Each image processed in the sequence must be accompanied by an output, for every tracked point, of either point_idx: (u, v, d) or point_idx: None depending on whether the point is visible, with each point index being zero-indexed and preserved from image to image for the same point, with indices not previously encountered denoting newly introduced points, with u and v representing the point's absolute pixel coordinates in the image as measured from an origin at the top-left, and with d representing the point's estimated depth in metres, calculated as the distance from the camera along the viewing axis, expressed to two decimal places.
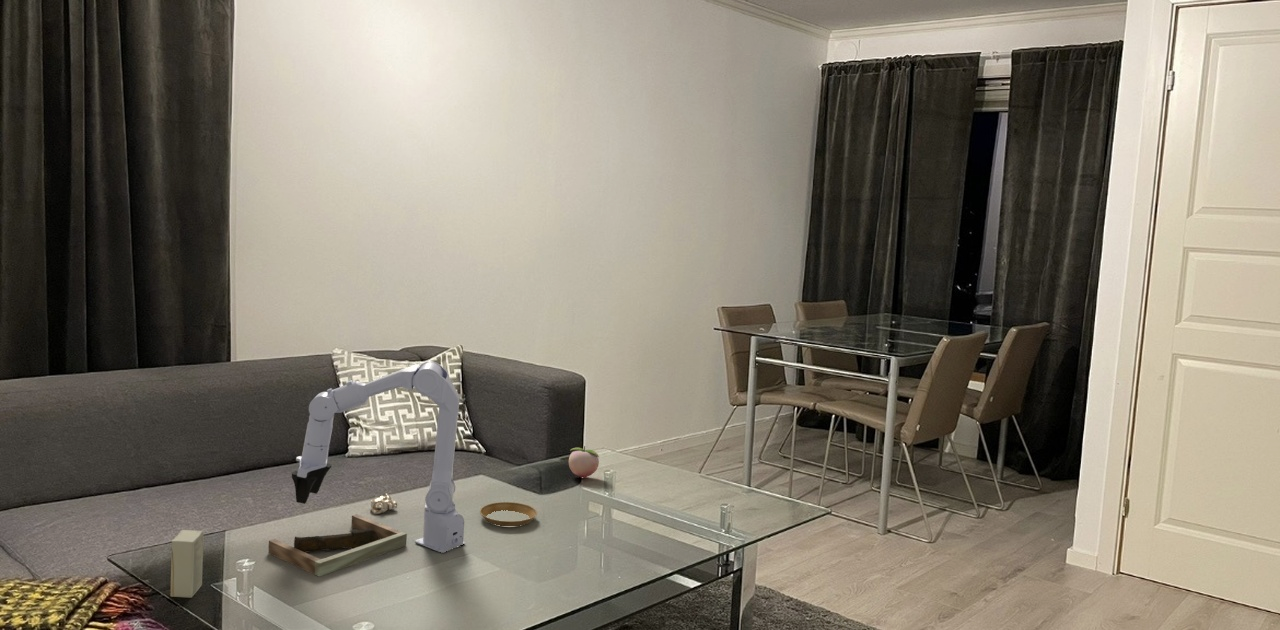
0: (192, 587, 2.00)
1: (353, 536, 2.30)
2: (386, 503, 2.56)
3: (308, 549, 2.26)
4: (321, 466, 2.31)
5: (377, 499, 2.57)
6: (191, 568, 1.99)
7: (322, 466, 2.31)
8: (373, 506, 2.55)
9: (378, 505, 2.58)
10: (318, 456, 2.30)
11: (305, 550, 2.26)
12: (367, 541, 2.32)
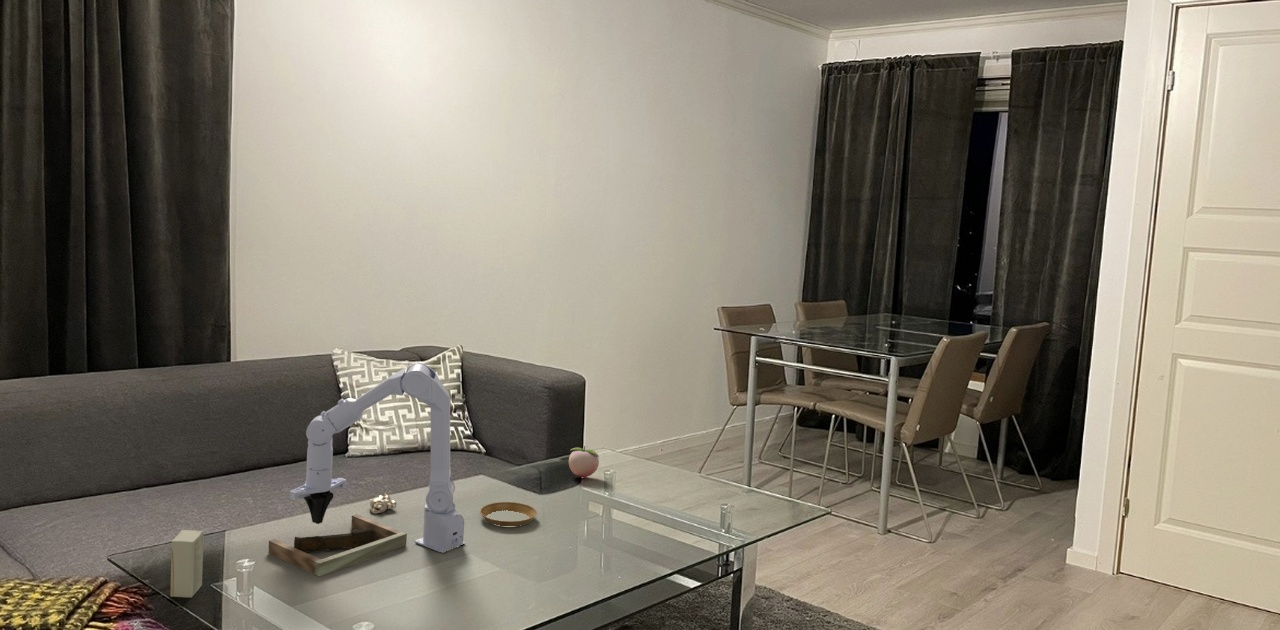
0: (192, 587, 2.00)
1: (353, 536, 2.31)
2: (385, 503, 2.56)
3: (308, 549, 2.26)
4: (319, 490, 2.30)
5: (376, 499, 2.57)
6: (191, 568, 1.99)
7: (320, 490, 2.30)
8: (372, 506, 2.56)
9: (377, 505, 2.59)
10: (315, 480, 2.30)
11: (305, 550, 2.26)
12: (367, 541, 2.32)
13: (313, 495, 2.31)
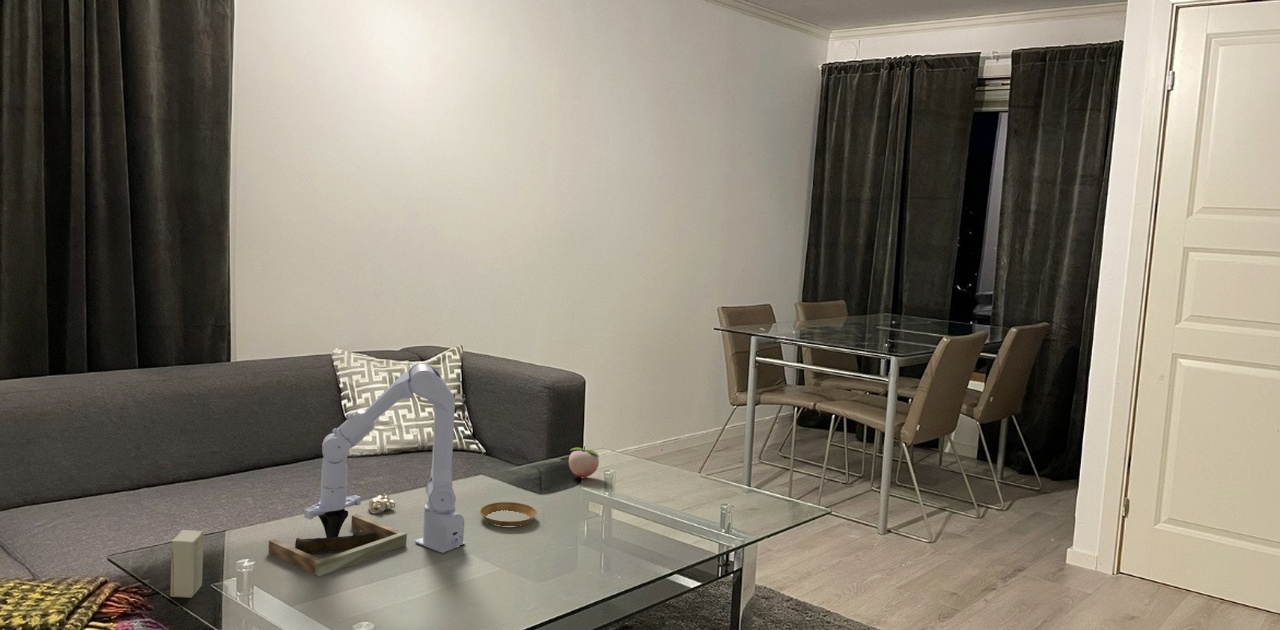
0: (192, 587, 2.00)
1: (354, 539, 2.29)
2: (384, 503, 2.56)
3: (309, 551, 2.25)
4: (334, 509, 2.27)
5: (375, 499, 2.57)
6: (191, 568, 1.99)
7: (335, 509, 2.28)
8: (371, 506, 2.56)
9: (376, 505, 2.59)
10: (329, 498, 2.27)
11: (306, 552, 2.25)
12: None
13: (328, 513, 2.28)
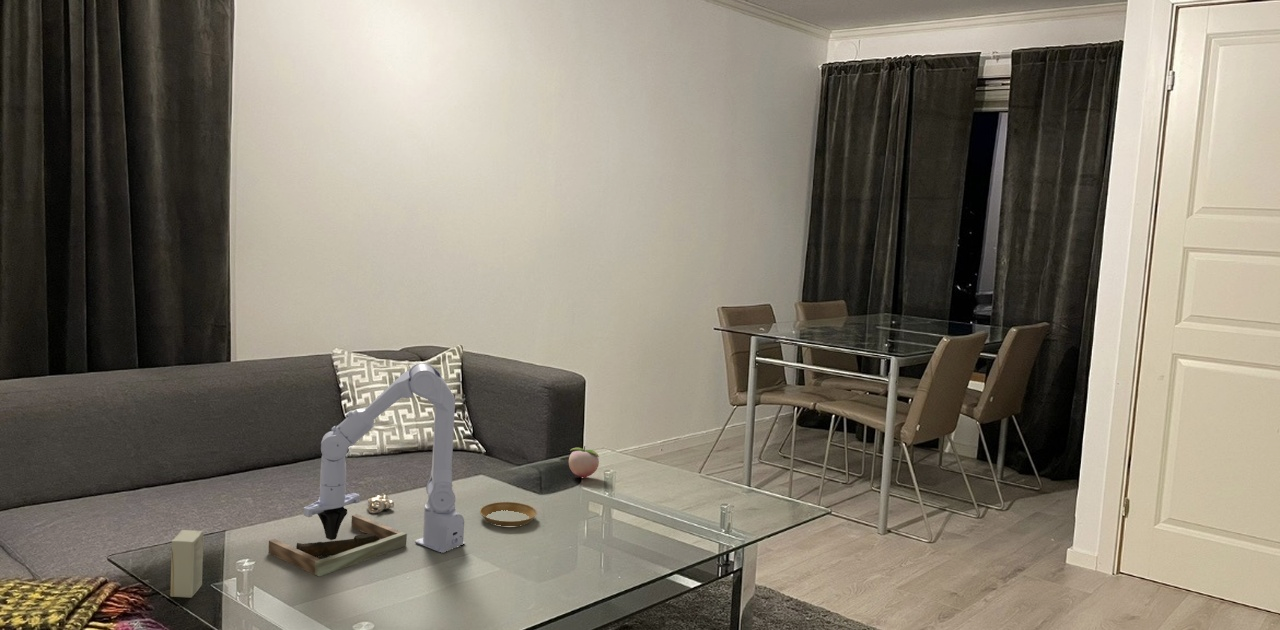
0: (192, 587, 2.00)
1: (356, 542, 2.27)
2: (383, 502, 2.56)
3: None
4: (333, 506, 2.28)
5: (374, 498, 2.58)
6: (191, 568, 1.99)
7: (334, 507, 2.28)
8: (370, 505, 2.56)
9: (375, 504, 2.59)
10: (328, 496, 2.27)
11: None
12: None
13: (327, 511, 2.29)
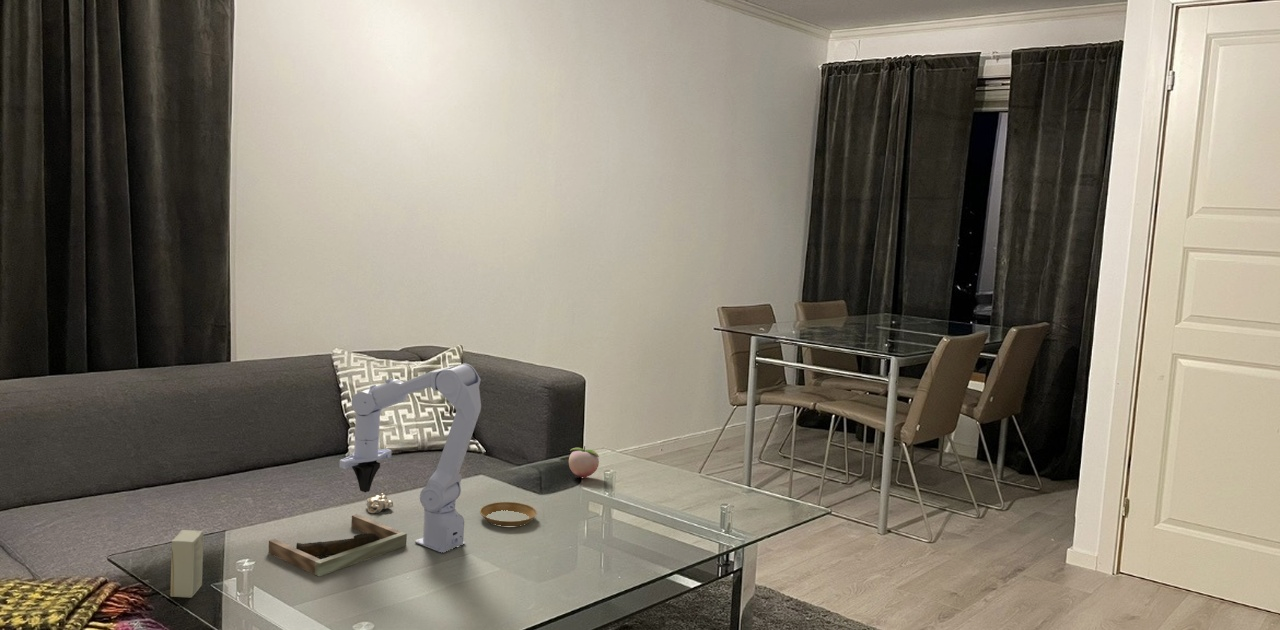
0: (192, 587, 2.00)
1: (356, 541, 2.27)
2: (382, 502, 2.56)
3: None
4: (367, 460, 2.39)
5: (373, 498, 2.58)
6: (191, 568, 1.99)
7: (368, 460, 2.40)
8: (369, 505, 2.56)
9: (374, 504, 2.59)
10: (363, 450, 2.39)
11: None
12: None
13: (361, 464, 2.40)
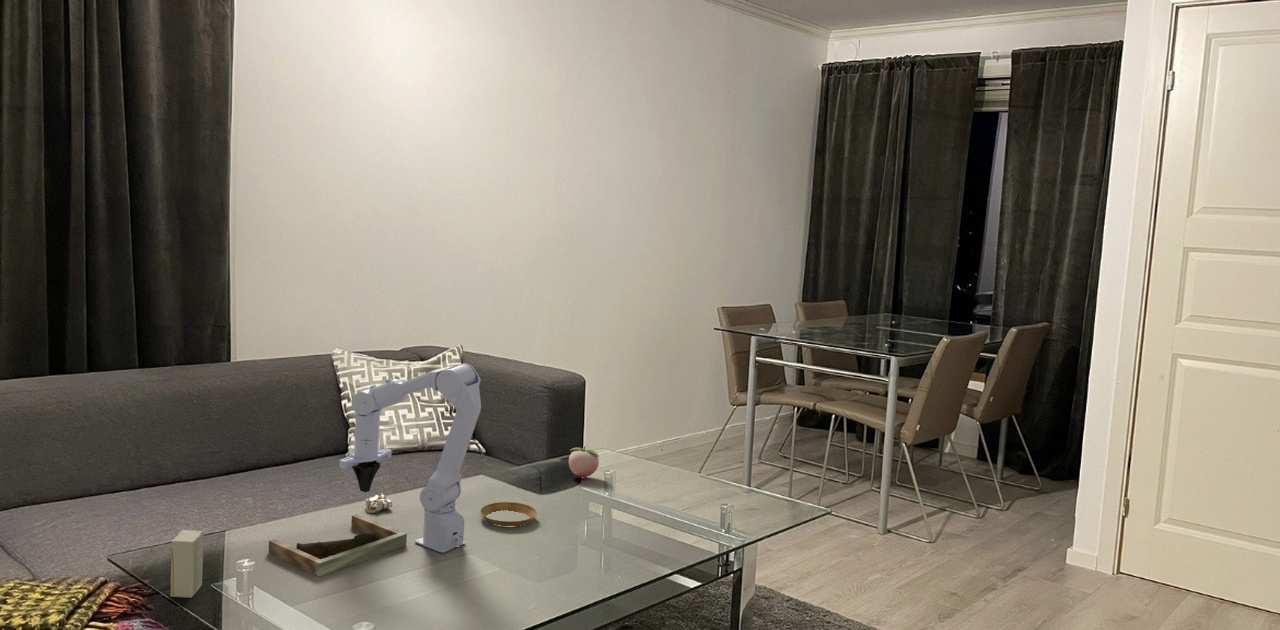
0: (192, 587, 2.00)
1: (356, 541, 2.27)
2: (381, 502, 2.56)
3: None
4: (367, 460, 2.39)
5: (372, 498, 2.58)
6: (191, 568, 1.99)
7: (368, 460, 2.40)
8: (368, 505, 2.56)
9: (373, 504, 2.59)
10: (363, 450, 2.39)
11: None
12: None
13: (361, 464, 2.40)
